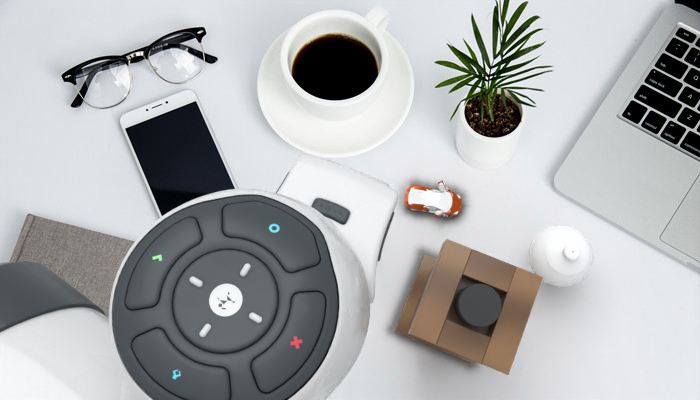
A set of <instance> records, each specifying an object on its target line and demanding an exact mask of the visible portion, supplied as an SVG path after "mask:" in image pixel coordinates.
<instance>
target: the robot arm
mask: <svg viewBox="0 0 700 400" xmlns="http://www.w3.org/2000/svg"><path fill="white" fill-rule="evenodd" d="M398 201H399V192H398V191H397V190H395V189H394V188H391V187H390V185H389V184H388V183H387V182H385V181H383V180H380V179H378V178H375V177H373V176H370V175H369V174H366V173H364V172H361V171H359V170H357V169H354V168H352V167H349V166H345V165H344V164H341V163H339V162H336V161H333V160H330V159H324V158H321V157H317V156H314V155H309V154H301V155H299V156H298V157H297V158H296V160H295V161H294V162H293V164H292V166H291V168H290V170H289V171H288V172H287V173H286V175H285V177H284V178H283V180H282V182H281V184H280V185H279V187H278V188H277V190H276V191H275V192H273V191H268V190H263V189H255V188H231V189H225V190H218V191H216V192H215V191H214V192H211V193H207V194H204V195H201V196H198V197H196V198H193V199H191V200H189V201H186V202H184V203H182V204H180V205H178V206H177V207H175V208H172V209H171V210H170V211H167V212H166V213H165V214H163V215H162V216H160V217H159V218H158V219H157V220H155V221H153V222H152V223H151V224H150V225H149V226H148V227H147V228H146V229H145V230H144V231H142V233H141V234H140V235H139V236H138V238H137V239H136V240H135V241H134V243H133V244H132V245H131V247H130V248H129V249H128V251H127V252H126V254H125V256H124V257H123V259H122V261H121V264H120V265H119V267H118V270H117V273H116V275H115V278H114V280H113V284H112V288H111V292H110V296H109V297H110V298H109V304H108V316H107V315H106V312H105V311H104V310H103V309H102V308H101V307H99V306H98V305H97V304H96V303H95V302H93V301H92V300H90V298H88V297H87V296H85V295H84V294H83V293H82V292H80V291H79V290H78V289H76V288H75V287H74V286H73V285H71V284H70V283H69V282H68V281H66V280H64V279H63V278H62V277H61V276H60V275H58V274H57V273H56V272H54V271H53V270H52V269H51V268H50V267H48V266H47V265H45V264H42V263H40V262H36V261H28V260H27V261H25V260H24V261H23V260H22V261H7V262H6V261H5V262H0V400H327V399H328V398H329V397H330V396H331V395H332V394H333V393H334V391H336V389H337V388H338V387H339V386H340V385H341V384H342V382H343V381H344V380H345V378H346V377H347V376H348V374H349V373H350V372H351V370H352V368H353V367H354V365H355V364H356V362H357V360H358V358H359V356H360V354H361V352H362V349H363V347H364V344H365V341H366V338H367V334H368V331H369V325H370V319H371V304H373V303H374V300H375V295H376V292H375V291H376V273H377V268H378V262H380V261H381V258H382V252H383V248H384V245H385V243H386V239H387V235H388V233H389V230H390V228H391V225H392V222H393V219H394V217H395V210H396V208H397V206H398V205H397V204H398Z"/></svg>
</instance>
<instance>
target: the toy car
mask: <svg viewBox="0 0 700 400" xmlns="http://www.w3.org/2000/svg"><path fill="white" fill-rule="evenodd" d="M437 184H438V189H433V188H431V187H428V186H424V185H419V184H411V185H409V186H408V188H406V192H405V195H404V205H405V207H406V208H408V209H409V210H411V211H415V212H425V213H431V214H434V217H437V218H440V217H441V216H443V217H444V218H445V217H446V218H448V219H449V218H451V217H454V216H457V215H459V214H460V212H461V210H462V208H463V200H462V199H463V198H462V197H461V195H460V194H458V193H457V192H455V191H452V190H450V188H449V186H447V184H446V183H445V182H444V180H443V179H441V181H439V182H437Z"/></svg>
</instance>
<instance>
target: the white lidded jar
mask: <svg viewBox="0 0 700 400" xmlns="http://www.w3.org/2000/svg"><path fill="white" fill-rule="evenodd" d="M528 260H529V264H530V267H531V269H532V270H533V273H534V274H537V275H539V276H542V277H543V279H542V282H544V283H546V284H548V285H551V286H554V287H560V288H561V287H563V288H564V287H570V286H574V285H576V284H578V283H580V282H581V281H583V280H584V279H585V278H586V277H587V276H588V275H589V273H590V271H591V269H592V267H593V264H594V250H593V248H592V245H591V242H590V240H589V239H588V238H587V236H586V235H585V234H584V233H583V232H581V231H579V229H577V228H575V227H573V226H570V225H565V224H564V225H563V224H556V225H551V226H548V227H546V228H544V229H543V230H540V231H539V232H538V233H537V234H536V235H535V237H534V238H533V240H532V241H531V243H530V246H529V250H528Z"/></svg>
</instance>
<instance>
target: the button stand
mask: <svg viewBox="0 0 700 400" xmlns="http://www.w3.org/2000/svg"><path fill="white" fill-rule="evenodd" d="M542 279H543V277H542V276H539V275H537V274H535V272H532V271H529V270H526V269H524V268H521V267H519V266H516V265H513V264H511V263H509V262H506V261H504V260H501V259H499V258H496V257H495V256H491V255H489V254H487V253H484V252H481V251H479V250H476V249H474V248H471V247H468V246H466V245H464V244H461V243H459V242H456V241H453V240H450V239H448V238H446V239H445V240H444V241H443V242H442V244H441V247H440V249H439V252H438V255H437V257H436V258H435V257H432V256H430V255H428V254H423V257H422V259H421V261H420V264H419V267H418V269H417V272H416V275H415V276H414V280H413V282H412V285H411V287H410V291H409V292H408V295H407V298H406V301H405V303H404V305H403V307H402V311H401V313H400V316H399V318H398V321H397V323H396V326H395V328H394V332H395V333H398V334H400V335H403V336H404V337H407V338H410V339H412V340H415V341H417V342H419V343H422V344H424V345H426V346H429V347H432V348H434V349H437V350H439V351H441V352H444V353H446V354H448V355H450V356H452V357H456V358H458V359H460V360H463V361H465V362H468V363H470V364H473V365H474V363H478V364H480V365H483V366H485V367H487V368H488V369H489V368H490V369H492V370H495V371H497V372H499V373H502V374H504V375H506V376H509V375H510V373H511V369H512V366H513V364H514V361H515V358H516V355H517V352H518V350H519V346H520V344H521V342H522V341H521V340H522V338H523V336H524V333H525V329H526V327H527V323H528V321H529V318H530V316H531V312H532V310H533V307H534V304H535V302H536V299H537V296H538V293H539V290H540V288H541V285H542V283H543V280H542ZM474 284H485V285H488V286H490V287H491V288H493V289H494V290H495V291H496V292H497V293H498V295H499V297H500V299H501V304H502V308H501V313H500V315H499V317H498V319H497V320H496V321H495V322H494V323H492V324H491V325H489V326H485V327H475V326H470V325H467V324H465V323H464V322H463V321H461V320H460V318H459V317H458V316H457V314H456V311H455V300H456V297H457V295H458V293H459V292H460V291H461V290H462V289H464V288H465V287H467V286H470V285H474Z"/></svg>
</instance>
